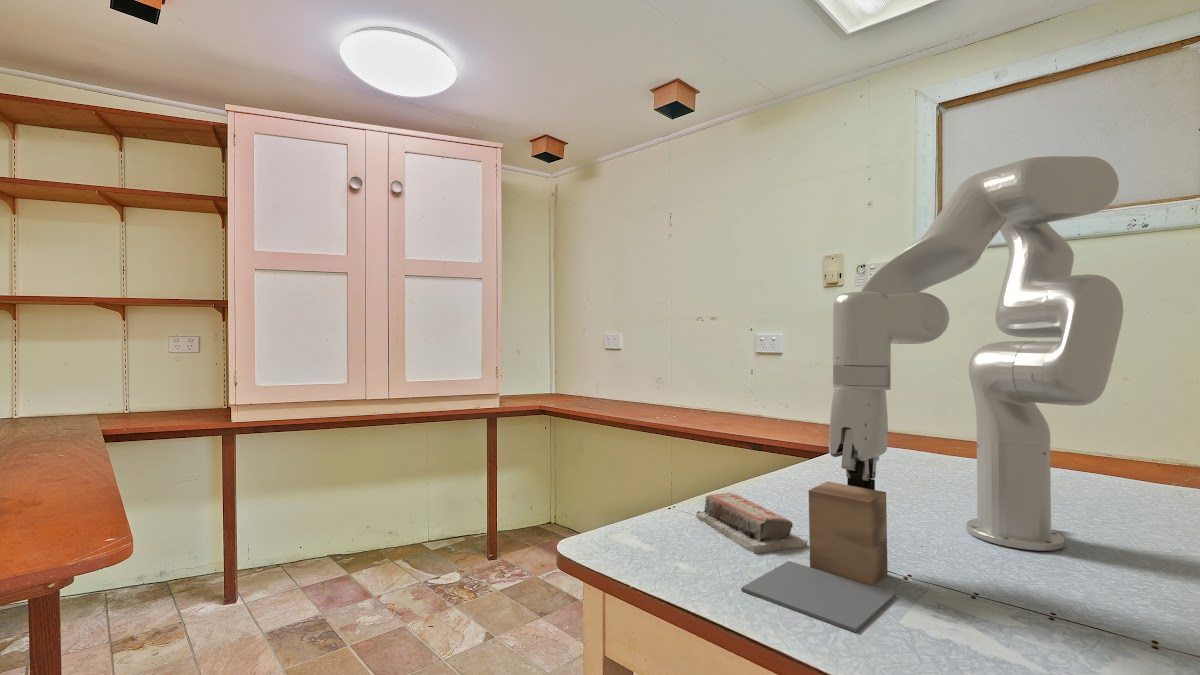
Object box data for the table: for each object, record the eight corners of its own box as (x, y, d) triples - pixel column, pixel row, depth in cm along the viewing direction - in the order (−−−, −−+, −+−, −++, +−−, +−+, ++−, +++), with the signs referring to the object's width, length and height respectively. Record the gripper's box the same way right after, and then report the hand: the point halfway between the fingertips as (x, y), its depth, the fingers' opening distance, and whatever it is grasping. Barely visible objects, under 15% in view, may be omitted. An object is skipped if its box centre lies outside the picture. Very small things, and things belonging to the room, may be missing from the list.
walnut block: (829, 556, 80) (827, 481, 80) (887, 572, 74) (886, 491, 74) (810, 569, 76) (808, 490, 75) (870, 588, 70) (869, 502, 70)
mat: (788, 563, 78) (788, 560, 78) (895, 596, 67) (895, 593, 67) (741, 590, 69) (741, 587, 69) (855, 632, 59) (855, 628, 59)
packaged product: (694, 493, 98) (741, 489, 102) (694, 520, 98) (741, 515, 101) (753, 524, 81) (808, 517, 85) (753, 557, 81) (808, 549, 84)
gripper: (855, 375, 87) (855, 492, 86) (812, 378, 76) (811, 511, 76) (907, 378, 81) (907, 502, 81) (868, 381, 71) (868, 524, 71)
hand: (861, 506), depth 78 cm, fingers closed
